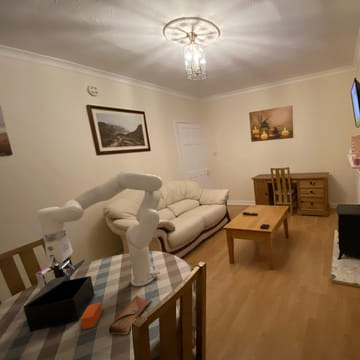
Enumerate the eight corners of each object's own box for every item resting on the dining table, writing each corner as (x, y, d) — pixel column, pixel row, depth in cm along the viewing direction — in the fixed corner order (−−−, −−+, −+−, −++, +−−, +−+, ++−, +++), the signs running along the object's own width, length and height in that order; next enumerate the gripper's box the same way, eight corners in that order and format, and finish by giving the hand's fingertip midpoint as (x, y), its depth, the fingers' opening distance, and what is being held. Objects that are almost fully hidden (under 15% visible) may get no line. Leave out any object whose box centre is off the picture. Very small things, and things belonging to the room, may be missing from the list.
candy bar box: (65, 287, 113) (59, 260, 110) (72, 288, 112) (66, 260, 109) (42, 303, 103) (34, 273, 100) (50, 304, 101) (43, 273, 99)
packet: (102, 312, 95) (100, 302, 94) (94, 326, 87) (92, 316, 86) (91, 314, 94) (89, 304, 93) (82, 329, 86) (80, 319, 85)
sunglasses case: (128, 334, 82) (118, 321, 81) (116, 341, 83) (105, 328, 83) (152, 300, 99) (144, 289, 99) (141, 306, 101) (133, 295, 100)
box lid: (85, 260, 103) (76, 251, 101) (66, 281, 87) (56, 271, 85) (49, 283, 100) (40, 274, 99) (24, 308, 84) (12, 298, 83)
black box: (94, 294, 106) (90, 275, 104) (78, 320, 90) (73, 298, 89) (54, 302, 102) (49, 283, 100) (29, 331, 86) (23, 308, 84)
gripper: (53, 242, 83) (63, 282, 86) (75, 226, 100) (82, 260, 103) (30, 246, 81) (42, 286, 85) (56, 229, 98) (65, 263, 101)
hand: (64, 272), depth 94 cm, fingers closed on box lid, 6 cm apart
